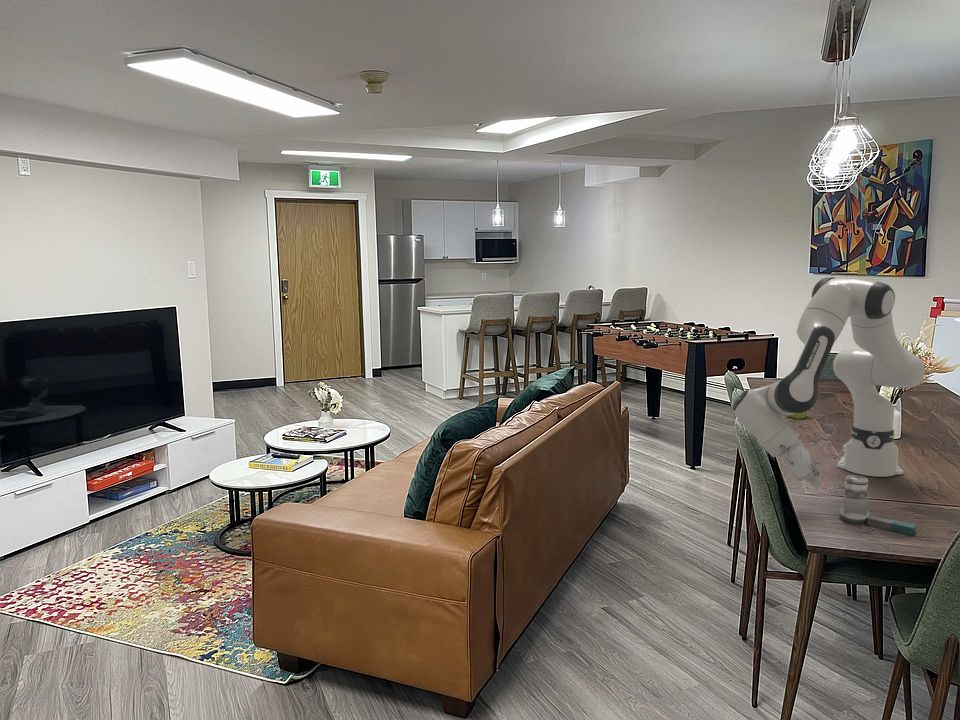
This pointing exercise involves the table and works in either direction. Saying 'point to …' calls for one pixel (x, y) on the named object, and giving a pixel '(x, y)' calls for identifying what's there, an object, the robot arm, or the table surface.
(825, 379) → the table surface
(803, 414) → the plant pot
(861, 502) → the cylinder on square base
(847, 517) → the ratchet
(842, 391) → the table surface
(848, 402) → the table surface
